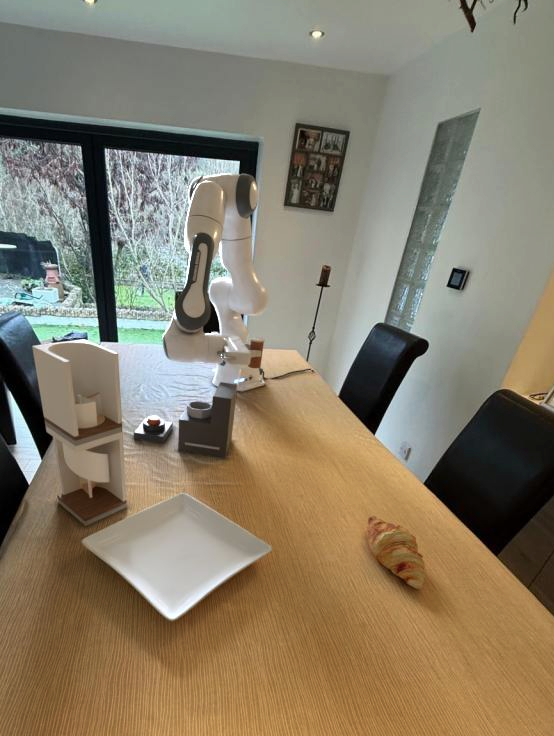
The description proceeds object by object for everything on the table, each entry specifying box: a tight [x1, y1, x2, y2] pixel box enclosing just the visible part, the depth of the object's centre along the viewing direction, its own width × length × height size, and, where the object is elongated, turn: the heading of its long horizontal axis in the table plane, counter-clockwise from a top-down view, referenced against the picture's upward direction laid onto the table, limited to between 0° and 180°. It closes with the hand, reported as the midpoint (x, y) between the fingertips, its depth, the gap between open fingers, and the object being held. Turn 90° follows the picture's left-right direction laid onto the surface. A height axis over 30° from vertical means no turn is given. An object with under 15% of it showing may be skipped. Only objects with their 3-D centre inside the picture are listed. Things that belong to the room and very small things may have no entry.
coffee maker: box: [177, 382, 238, 459], centre depth 120 cm, size 12×14×18 cm
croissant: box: [366, 515, 426, 590], centre depth 88 cm, size 21×10×8 cm, turn 11°
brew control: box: [133, 417, 174, 444], centre depth 127 cm, size 11×9×4 cm
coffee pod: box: [248, 336, 266, 368], centre depth 131 cm, size 5×5×8 cm
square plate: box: [81, 492, 273, 622], centre depth 82 cm, size 27×27×4 cm
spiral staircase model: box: [31, 338, 128, 527], centre depth 86 cm, size 11×11×35 cm
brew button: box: [147, 414, 161, 425], centre depth 126 cm, size 4×4×2 cm
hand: (258, 350), depth 131 cm, fingers closed on coffee pod, 4 cm apart
